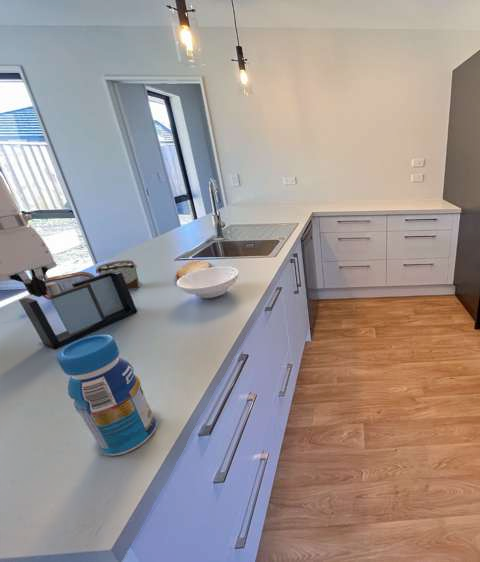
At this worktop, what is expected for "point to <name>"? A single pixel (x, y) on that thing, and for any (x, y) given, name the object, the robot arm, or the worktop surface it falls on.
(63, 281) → the tin
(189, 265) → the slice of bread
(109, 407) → the beverage bottle
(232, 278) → the bowl
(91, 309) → the sliding pane
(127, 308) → the window frame
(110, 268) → the food container
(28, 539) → the worktop surface
